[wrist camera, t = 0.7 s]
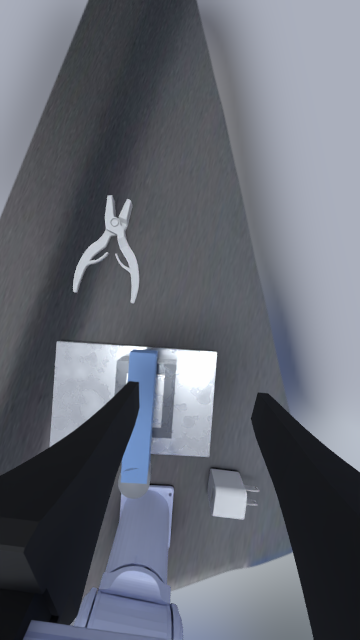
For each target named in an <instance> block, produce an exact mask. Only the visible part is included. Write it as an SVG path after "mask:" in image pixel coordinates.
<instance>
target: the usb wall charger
mask: <svg viewBox="0 0 360 640" xmlns="http://www.w3.org/2000/svg"><path fill="white" fill-rule="evenodd" d="M254 488H256V489H257V490H255V489H254ZM246 491H253V492H259V489H258V487H255V486H249V485H244V484H243V482H242V479H241V477H240V474H239V472H235V471H227V470H219V469H210V475H209V483H208V498H209V504H210V509H211V514H212V516H217V517H226V518H235V519H244V516H245V509H246V505H256V506H257V503H256V500H251V499H247V493H246ZM252 501H253V502H255V504H254V503H253V502H252Z"/></svg>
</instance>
